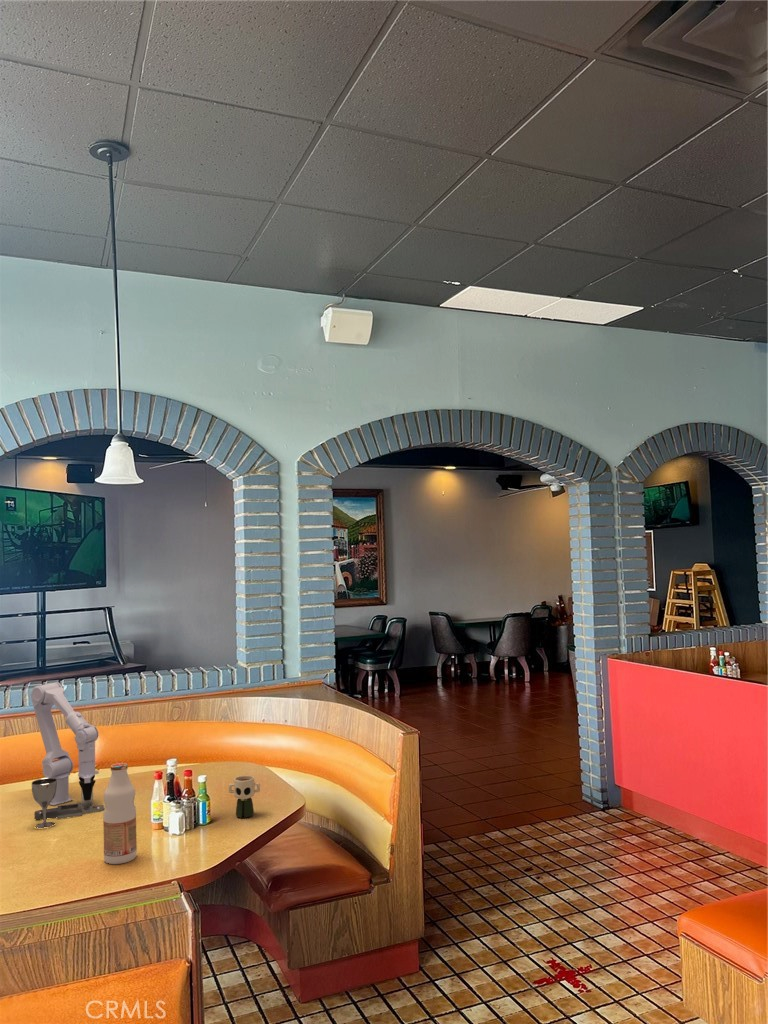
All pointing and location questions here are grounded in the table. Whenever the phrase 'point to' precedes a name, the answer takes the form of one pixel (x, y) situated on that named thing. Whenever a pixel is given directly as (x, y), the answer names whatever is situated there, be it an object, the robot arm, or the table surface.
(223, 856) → the table surface
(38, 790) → the wine glass
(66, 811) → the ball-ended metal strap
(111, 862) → the fruit juice
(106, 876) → the table surface
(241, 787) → the character mug
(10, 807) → the table surface
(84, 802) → the steel pin
